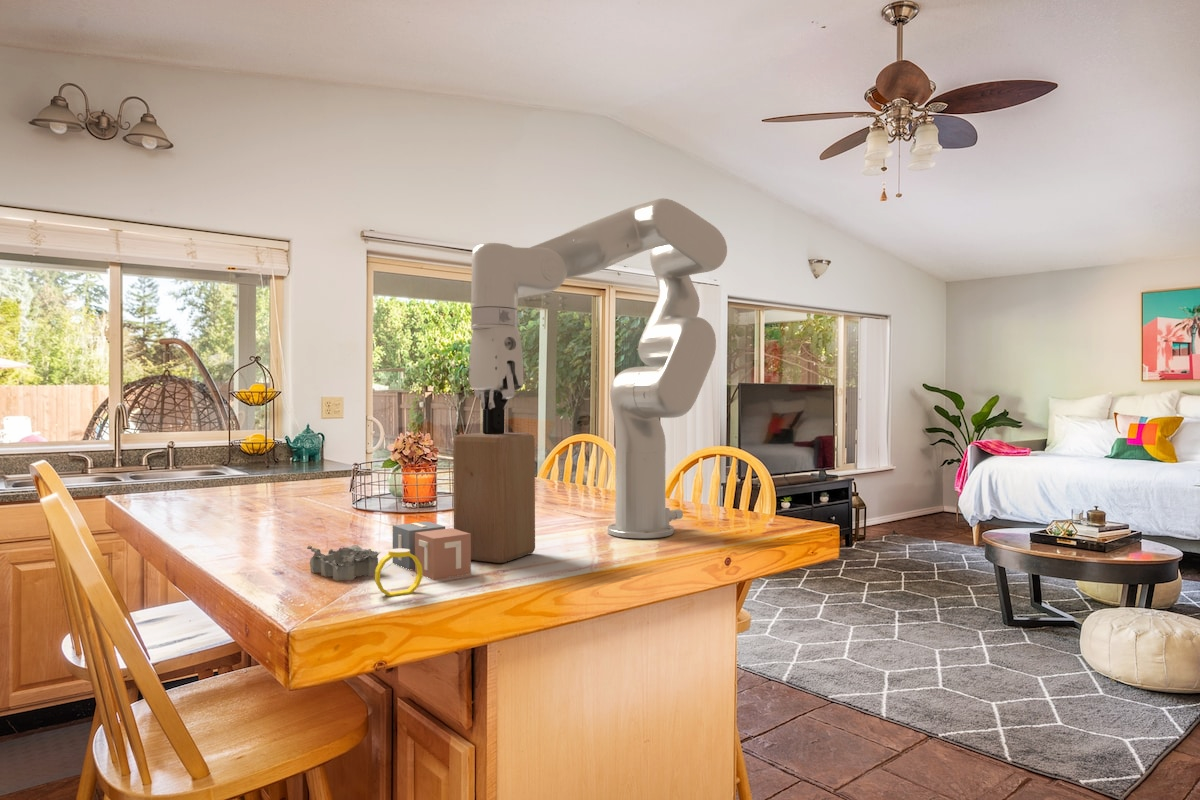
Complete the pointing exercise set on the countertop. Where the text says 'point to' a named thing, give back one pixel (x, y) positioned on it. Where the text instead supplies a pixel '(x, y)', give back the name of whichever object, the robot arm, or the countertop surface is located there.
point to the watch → (398, 553)
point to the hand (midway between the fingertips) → (493, 433)
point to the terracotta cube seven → (443, 553)
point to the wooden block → (495, 494)
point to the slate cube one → (409, 540)
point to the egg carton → (344, 562)
